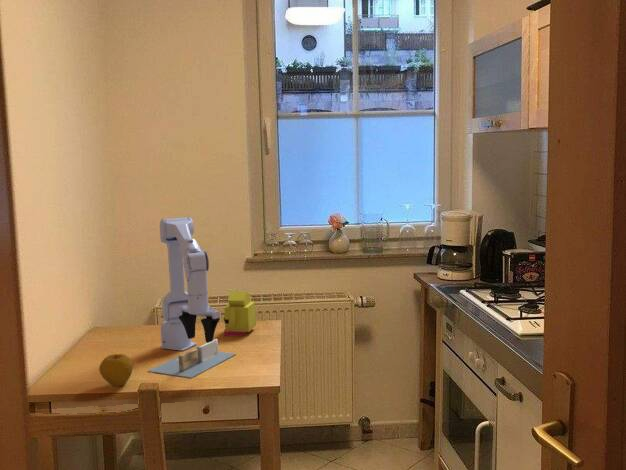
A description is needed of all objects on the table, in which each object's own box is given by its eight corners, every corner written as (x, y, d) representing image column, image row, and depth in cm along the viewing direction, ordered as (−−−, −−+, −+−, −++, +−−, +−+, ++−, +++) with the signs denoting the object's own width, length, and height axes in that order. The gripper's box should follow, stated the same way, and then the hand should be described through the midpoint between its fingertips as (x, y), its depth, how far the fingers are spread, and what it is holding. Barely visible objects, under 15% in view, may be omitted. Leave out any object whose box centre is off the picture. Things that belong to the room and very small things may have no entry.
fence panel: (196, 362, 197) (195, 348, 196) (199, 363, 196) (198, 348, 195) (178, 371, 189) (177, 356, 188) (181, 372, 189) (180, 356, 188)
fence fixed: (196, 363, 197) (195, 347, 196) (215, 353, 206) (214, 338, 205) (200, 364, 196) (199, 348, 196) (219, 354, 205) (218, 339, 205)
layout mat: (147, 371, 191) (147, 370, 191) (194, 349, 211) (194, 348, 211) (191, 378, 184) (191, 377, 184) (235, 354, 204) (235, 353, 204)
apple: (93, 389, 178) (91, 357, 177) (114, 378, 186) (112, 348, 185) (120, 392, 175) (118, 360, 174) (140, 381, 183) (138, 350, 182)
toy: (231, 326, 238) (229, 286, 236) (258, 327, 236) (256, 287, 234) (219, 337, 225) (217, 294, 223) (247, 337, 223) (245, 295, 221)
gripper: (225, 293, 184) (228, 339, 186) (190, 288, 193) (193, 333, 195) (208, 298, 179) (210, 346, 180) (172, 293, 187) (175, 338, 189)
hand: (200, 339), depth 187 cm, fingers open, 7 cm apart
